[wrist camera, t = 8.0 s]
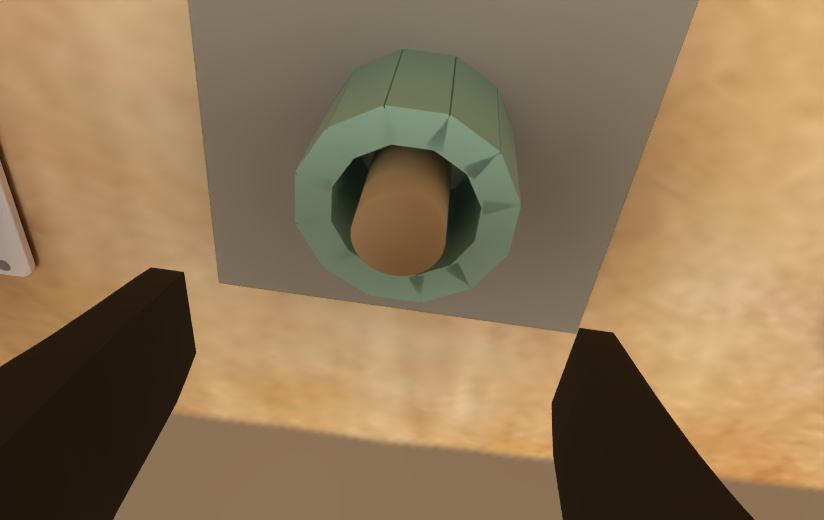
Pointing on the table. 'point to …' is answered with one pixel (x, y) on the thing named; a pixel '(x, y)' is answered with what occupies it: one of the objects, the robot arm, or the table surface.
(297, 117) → the grey board
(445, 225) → the beech post
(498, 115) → the green ring
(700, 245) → the table surface
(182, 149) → the table surface
